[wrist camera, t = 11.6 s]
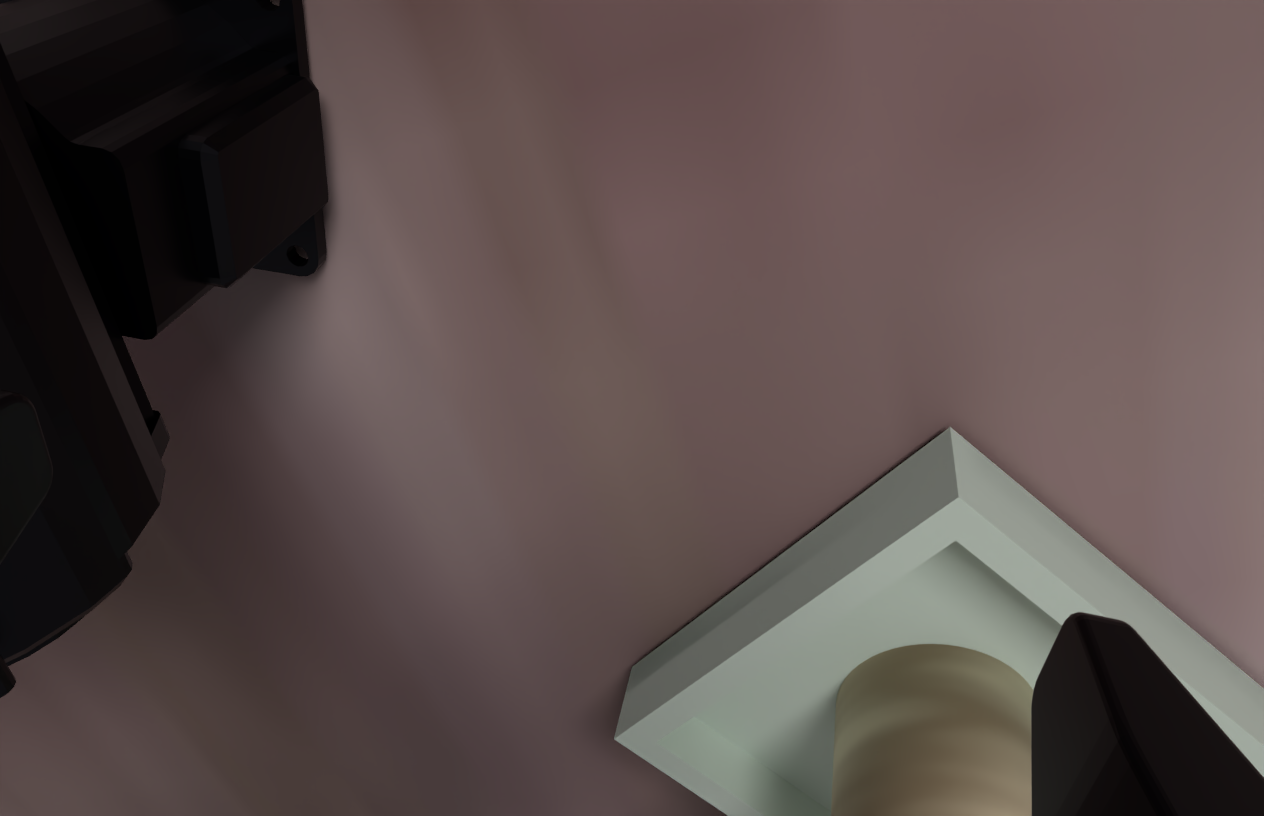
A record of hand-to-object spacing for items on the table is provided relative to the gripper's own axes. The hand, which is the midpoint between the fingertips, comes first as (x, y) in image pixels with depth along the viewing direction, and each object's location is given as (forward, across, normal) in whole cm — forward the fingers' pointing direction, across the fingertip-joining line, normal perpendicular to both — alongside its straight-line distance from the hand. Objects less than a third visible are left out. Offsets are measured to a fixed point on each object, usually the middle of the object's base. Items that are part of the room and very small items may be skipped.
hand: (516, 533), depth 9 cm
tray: (+13, -8, +15) cm, 21 cm away
